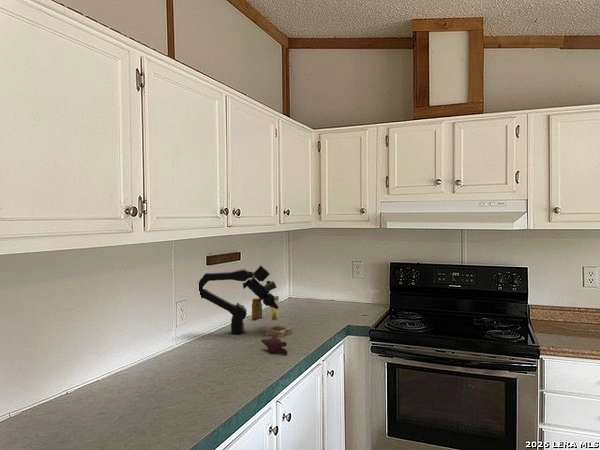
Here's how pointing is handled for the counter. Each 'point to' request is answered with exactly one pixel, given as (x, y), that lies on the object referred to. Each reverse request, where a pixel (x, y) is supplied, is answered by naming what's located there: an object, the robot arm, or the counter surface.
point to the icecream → (275, 345)
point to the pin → (275, 311)
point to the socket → (278, 331)
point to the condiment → (256, 309)
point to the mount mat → (267, 327)
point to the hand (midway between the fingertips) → (277, 307)
